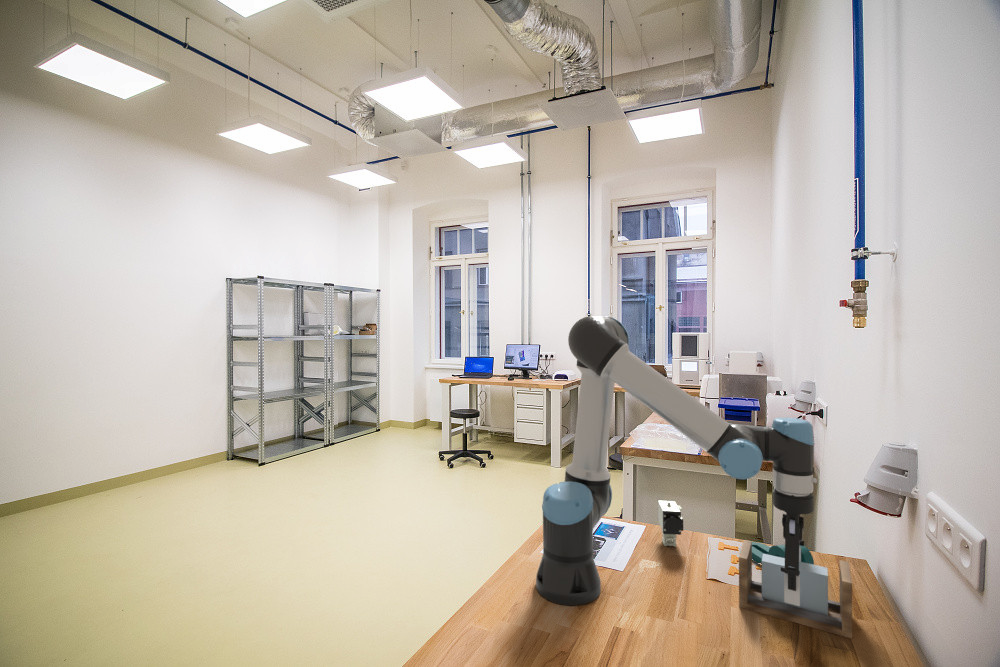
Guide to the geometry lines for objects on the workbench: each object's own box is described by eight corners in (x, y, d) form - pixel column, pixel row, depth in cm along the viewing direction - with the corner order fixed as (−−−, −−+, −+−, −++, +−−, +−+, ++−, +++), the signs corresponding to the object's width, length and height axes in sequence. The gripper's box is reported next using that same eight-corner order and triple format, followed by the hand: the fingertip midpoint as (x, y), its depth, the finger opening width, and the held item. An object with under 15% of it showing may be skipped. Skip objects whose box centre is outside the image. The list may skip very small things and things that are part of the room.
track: (739, 606, 104) (738, 557, 104) (744, 585, 112) (744, 539, 112) (852, 638, 93) (852, 583, 93) (848, 612, 101) (848, 561, 101)
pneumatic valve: (664, 553, 129) (664, 509, 129) (657, 534, 141) (657, 494, 140) (685, 554, 128) (685, 510, 128) (676, 535, 140) (676, 495, 139)
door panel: (761, 601, 104) (761, 560, 104) (763, 592, 108) (763, 553, 108) (827, 619, 98) (827, 576, 98) (827, 609, 101) (827, 567, 101)
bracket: (814, 583, 114) (814, 550, 114) (789, 586, 112) (789, 553, 112) (759, 548, 131) (759, 520, 131) (738, 551, 130) (738, 522, 130)
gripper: (814, 513, 90) (814, 624, 90) (813, 477, 111) (813, 567, 111) (768, 505, 94) (769, 611, 94) (776, 472, 115) (776, 559, 115)
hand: (793, 588), depth 103 cm, fingers open, 13 cm apart
